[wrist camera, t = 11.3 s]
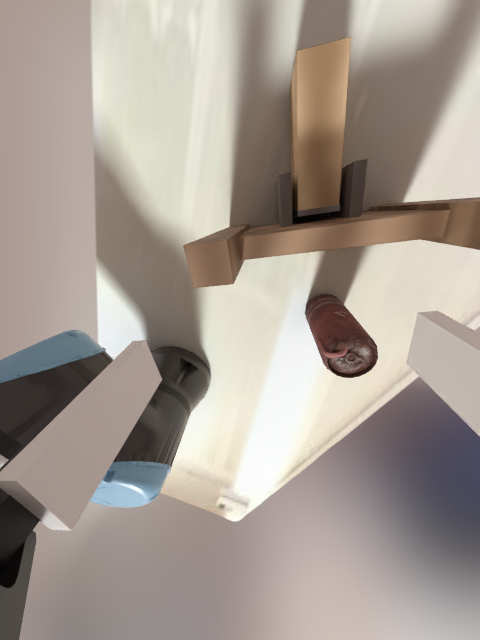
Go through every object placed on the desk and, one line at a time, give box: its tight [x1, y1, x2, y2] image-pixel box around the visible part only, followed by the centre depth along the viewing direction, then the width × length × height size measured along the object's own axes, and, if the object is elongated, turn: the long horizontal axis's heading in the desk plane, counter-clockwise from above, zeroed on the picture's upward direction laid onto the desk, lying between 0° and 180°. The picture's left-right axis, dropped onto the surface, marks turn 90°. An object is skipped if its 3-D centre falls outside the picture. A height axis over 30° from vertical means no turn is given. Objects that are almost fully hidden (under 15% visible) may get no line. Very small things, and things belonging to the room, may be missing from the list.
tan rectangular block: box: [290, 37, 351, 217], centre depth 24 cm, size 5×13×7 cm, turn 8°
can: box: [305, 295, 378, 378], centre depth 30 cm, size 6×6×14 cm
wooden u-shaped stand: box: [184, 160, 480, 288], centre depth 21 cm, size 23×8×20 cm, turn 98°
